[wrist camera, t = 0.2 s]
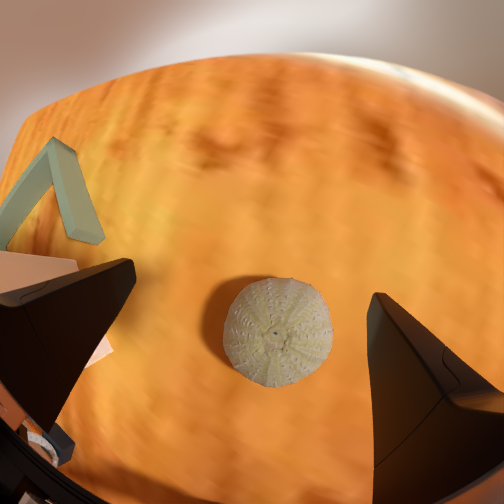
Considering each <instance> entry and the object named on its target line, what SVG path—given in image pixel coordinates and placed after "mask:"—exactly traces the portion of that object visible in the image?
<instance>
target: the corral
mask: <svg viewBox="0 0 504 504" xmlns="http://www.w3.org/2000/svg"><path fill="white" fill-rule="evenodd" d="M52 184H54V188H55V192H56V197H57V201H58V205H59V209H60V212H61V216H62V219H63V223H64V226H65V230H66V233H67V236H68V238H72V239H75V240H79V241H83V242H87V243H90V244H94V245H98V244H99V243H100V242H101V241H102V240H103V239H105V238H106V237H105V235H104V233H103V230H102V228H101V225H100V223H99V220H98V218H97V215H96V212H95V210H94V207H93V204H92V202H91V199H90V196H89V193H88V190H87V187H86V184H85V181H84V178H83V175H82V172H81V169H80V166H79V162H78V159H77V156H76V152H75V150H73V149H72V148H70V147H69V146H67V145H65V144H64V143H62V142H61V141H59V140H58V139H56V138H55V137H52V138H51V140H50V141H49V142H48V143H47V144H46V145H45V146H44V148H43V149H42V150H41V151H40V152H39V154H38V155H37V156H36V157H35V158H34V160H33V161H32V162H31V164H30V165H29V166H28V167H27V169H26V170H25V171H24V173H23V174H22V175H21V177H20V178H19V180H18V181H17V182H16V184H15V185H14V187H13V188H12V190H11V191H10V193H9V194H8V196H7V197H6V199H5V200H4V202H3V203H2V205H1V207H0V251H7V249H6V246H7V244H8V243H9V241H10V240H11V238H12V237H13V235H14V234H15V232H16V231H17V229H18V228H19V226H20V225H21V223H22V222H23V221H24V219H25V218H26V217H27V215H28V214H29V212H30V211H31V210H32V208H33V207H34V206H35V205H36V203H37V202H38V201H39V199H40V198H41V197H42V196H43V194H44V193H45V192H46V191H47V190H48V188H49V187H50V186H51V185H52Z"/></svg>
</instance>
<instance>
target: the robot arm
mask: <svg viewBox="0 0 504 504" xmlns="http://www.w3.org/2000/svg"><path fill="white" fill-rule="evenodd" d="M135 283H136V273H135V267H134V262H133V260H131V259H128V258H121V259H117V260H114V261H110V262H107V263H103V264H100V265H96V266H93V267H90V268H86V269H83V270H80V271H76V272H73V273H70V274H66V275H63V276H60V277H57V278H53V279H51V280H47V281H44V282H40V283H37V284H34V285H30V286H27V287H23V288H19V289H16V290H12V291H8V292H4V293H0V504H50V503H48V502H46V501H45V500H47V501H49V502H51V503H52V504H111V503H109V502H107V501H106V500H104V499H102V498H100V497H99V496H97V495H95V494H94V493H92V492H90V491H89V490H87V489H86V488H84V487H83V486H81V485H80V484H78V483H77V482H75V481H74V480H72V479H71V478H69V477H68V476H67V475H65V474H64V473H63V472H61V471H60V470H59V469H57V468H56V467H55V466H53V465H52V464H51V463H50V462H48V461H47V460H46V459H45V458H44V457H42V456H41V455H40V454H39V453H37V452H36V451H35V450H34V449H33V448H32V447H31V446H30V445H29V444H28V434H27V428H26V427H25V426H24V425H23V424H22V422H23V421H24V420H25V418H26V417H27V418H28V419H29V420H30V421H32V422H33V423H34V424H35V425H36V426H37V427H39V428H40V429H41V430H42V431H43V432H45V433H46V434H47V435H48V434H49V433H50V431H51V429H52V427H53V425H54V423H55V421H56V419H57V417H58V415H59V413H60V411H61V409H62V407H63V406H64V404H65V402H66V400H67V398H68V396H69V395H70V392H71V391H72V389H73V387H74V385H75V383H76V382H77V380H78V378H79V376H80V375H81V373H82V371H83V370H84V368H85V366H86V365H87V363H88V361H89V360H90V358H91V356H92V355H93V353H94V351H95V350H96V348H97V347H98V345H99V343H100V342H101V340H102V339H103V337H104V335H105V334H106V332H107V331H108V329H109V328H110V326H111V325H112V323H113V322H114V320H115V319H116V317H117V316H118V314H119V312H120V311H121V309H122V307H123V305H124V303H125V302H126V300H127V298H128V296H129V294H130V292H131V291H132V289H133V287H134V285H135ZM367 357H368V366H369V376H370V386H371V398H372V413H373V435H374V468H375V469H374V477H373V500H372V504H504V393H503V392H501V391H499V390H498V389H497V388H495V387H494V386H493V385H492V384H491V383H489V382H488V381H487V380H486V379H484V378H483V377H482V376H481V375H480V374H478V373H477V372H476V371H475V370H473V369H472V368H471V367H470V366H469V365H467V364H466V363H465V362H464V361H462V360H461V359H460V358H459V357H458V356H457V355H456V354H455V353H453V352H452V351H451V350H450V349H449V348H448V347H447V346H445V344H444V343H442V342H441V341H440V340H439V339H438V338H437V337H436V336H435V335H434V334H432V333H431V332H430V331H429V330H428V329H427V328H426V327H425V326H423V325H422V324H421V323H420V322H419V321H418V320H416V319H415V318H414V317H413V316H412V315H411V314H409V313H408V312H407V311H406V310H405V309H404V308H402V307H401V306H400V305H399V304H398V303H396V302H395V301H394V300H393V299H392V298H390V297H389V296H388V295H387V294H386V293H379V292H375V293H374V294H373V296H372V299H371V302H370V306H369V309H368V312H367Z"/></svg>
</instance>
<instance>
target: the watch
mask: <svg viewBox="0 0 504 504" xmlns="http://www.w3.org/2000/svg"><path fill="white" fill-rule="evenodd" d="M27 434H28V441H33V442H36V443H38V444H39V443H40V445H41V448H42V449H43V450H44V451H45V452H46V453H47V454H48V456H49V457H50V458H51V459H52V465H53V466H55V467H56V468H57V465H58V466H61V465H62V464H64V463H66V462H68V461H69V460H71V457H72V453H73V450H74V446H75V442H74V441H73V440H72V439H71V438H70V437H69V436H68V435H67V434H66V433H65V432H64V431H63V430H62V429H61V428H60V426H59V425H58V424H57V423H56V424H54V425H53V427H52V429H51V431H50V433H49V434H48V435H47V434H46V433H45V432H43V433H42V436H41V437H40V435H38V434H36V433H33V432H28V431H27ZM36 437H37V439H36Z"/></svg>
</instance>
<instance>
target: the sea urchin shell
mask: <svg viewBox="0 0 504 504" xmlns="http://www.w3.org/2000/svg"><path fill="white" fill-rule="evenodd" d="M333 330H334V329H333V328H332V323H331V318H330V314H329V308H328V306H327V305H326V303H325V301H324V299H323V297H322V295H321V294H320V292H319V291H318V290H317V289H315V288H314V287H312V285H309V284H307V283H305V282H301V281H298V280H295V279H293V278H268V279H262V280H260V281H257V282H253V283H250V284H249V285H248V286H246V287H245V288H244V289H242V290H241V292H240V293H239V294H238V295H237V297H236V298H235V300H234V301H233V303H232V304H231V305H230V308H229V312H228V314H227V318H226V320H225V323H224V334H223V342H222V344H223V347H224V350H225V351H224V352H225V354H226V355H227V357H228V358H229V360H230V361H231V363H232V365H233V368H235V369H236V370H237V371H238V372H240V373H241V374H243V375H244V376H245V377H246V378H248V379H249V380H250V381H254V382H256V383H258V384H260V385H262V386H265V387H273V388H274V387H275V388H278V387H282V386H284V385H288V384H294V383H296V382H297V381H299V380H301V379H303V378H304V377H306V376H308V375H310V374H312V373H314V372H315V370H316V369H317V368H318V367H319V366H320V365H321V364H322V363H323V362H324V361H325V360H326V359H327V357H328V355H329V353H330V350H331V348H332V338H333Z"/></svg>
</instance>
